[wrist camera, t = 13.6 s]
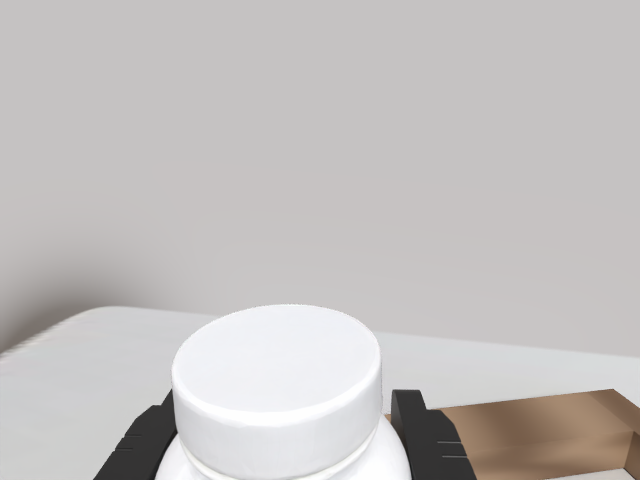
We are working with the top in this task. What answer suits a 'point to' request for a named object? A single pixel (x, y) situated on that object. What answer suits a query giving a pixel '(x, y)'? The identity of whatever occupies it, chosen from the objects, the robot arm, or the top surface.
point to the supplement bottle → (281, 400)
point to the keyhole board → (549, 435)
